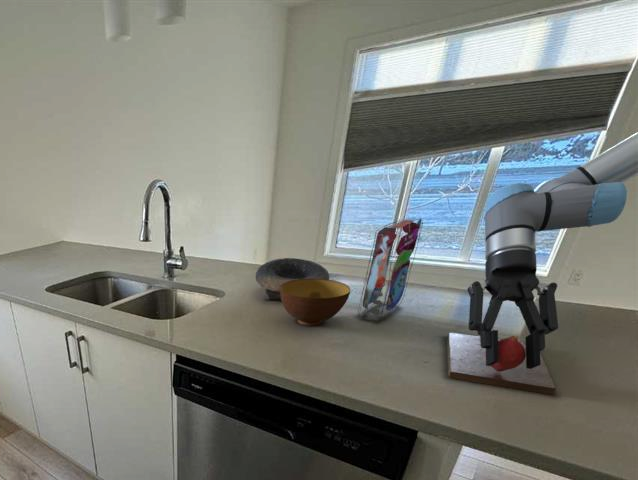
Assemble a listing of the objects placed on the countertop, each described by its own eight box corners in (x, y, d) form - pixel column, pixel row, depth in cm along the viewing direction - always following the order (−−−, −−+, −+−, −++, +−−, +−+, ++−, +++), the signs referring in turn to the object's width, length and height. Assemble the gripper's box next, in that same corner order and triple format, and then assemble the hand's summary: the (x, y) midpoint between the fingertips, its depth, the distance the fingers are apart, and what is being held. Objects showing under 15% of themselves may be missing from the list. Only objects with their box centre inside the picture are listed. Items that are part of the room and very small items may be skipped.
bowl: (319, 307, 124) (325, 275, 119) (357, 328, 109) (365, 292, 104) (266, 315, 122) (269, 283, 117) (297, 337, 107) (302, 301, 102)
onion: (480, 374, 81) (495, 338, 77) (479, 362, 85) (493, 327, 81) (518, 380, 78) (536, 343, 74) (515, 367, 82) (531, 332, 78)
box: (390, 295, 128) (411, 213, 116) (412, 299, 124) (436, 214, 112) (355, 318, 115) (375, 228, 102) (379, 323, 110) (402, 230, 98)
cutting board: (552, 395, 76) (556, 388, 75) (448, 377, 84) (450, 371, 84) (533, 349, 92) (536, 343, 91) (446, 338, 100) (448, 332, 99)
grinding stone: (239, 300, 139) (242, 272, 133) (277, 275, 151) (281, 249, 145) (303, 320, 125) (309, 290, 119) (339, 291, 138) (346, 263, 131)
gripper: (555, 267, 82) (561, 375, 78) (447, 266, 89) (445, 366, 84) (583, 246, 75) (591, 363, 71) (463, 247, 82) (463, 355, 77)
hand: (512, 364), depth 77 cm, fingers closed on onion, 6 cm apart
